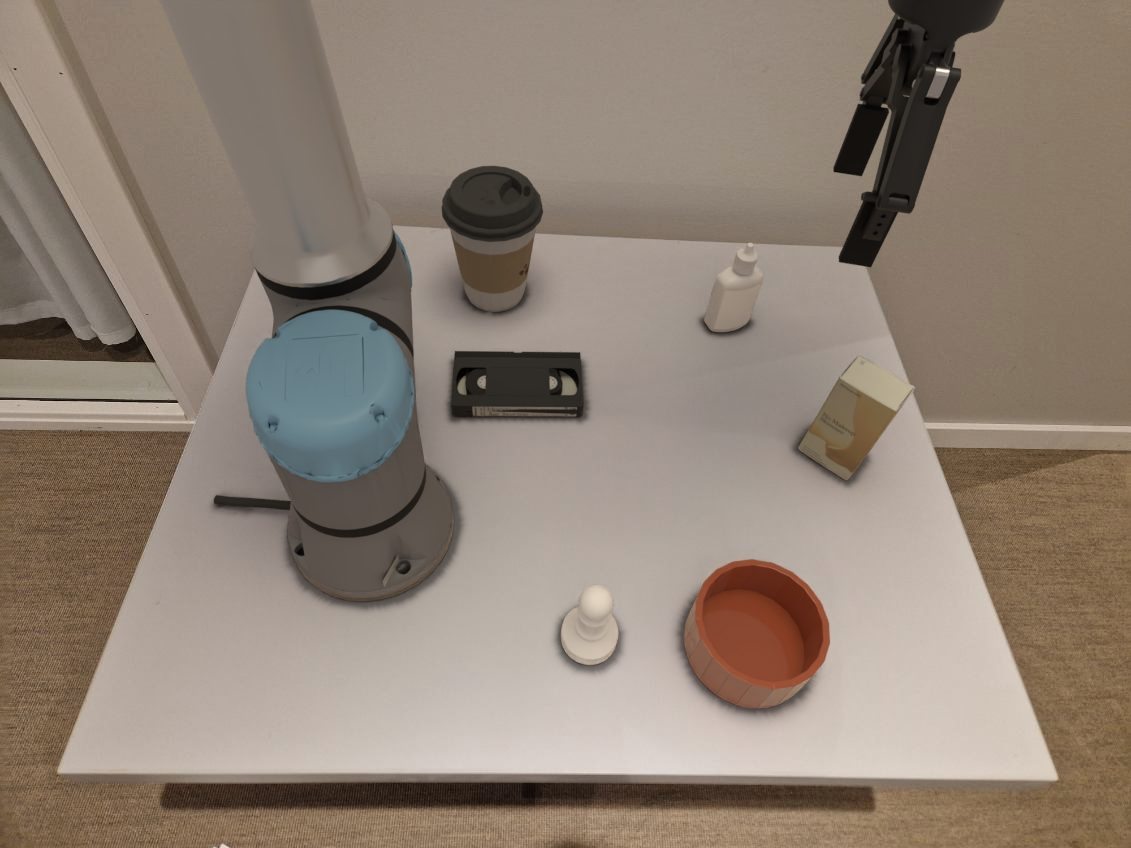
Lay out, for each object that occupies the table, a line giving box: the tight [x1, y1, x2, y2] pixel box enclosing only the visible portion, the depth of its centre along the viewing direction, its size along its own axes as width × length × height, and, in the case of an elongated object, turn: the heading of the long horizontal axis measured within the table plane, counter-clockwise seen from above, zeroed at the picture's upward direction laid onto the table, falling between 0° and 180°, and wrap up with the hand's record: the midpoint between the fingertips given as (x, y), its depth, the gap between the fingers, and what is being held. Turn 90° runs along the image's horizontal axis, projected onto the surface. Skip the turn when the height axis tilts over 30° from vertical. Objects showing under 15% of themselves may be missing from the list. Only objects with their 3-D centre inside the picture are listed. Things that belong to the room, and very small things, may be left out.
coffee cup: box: [441, 165, 544, 313], centre depth 85 cm, size 11×11×15 cm
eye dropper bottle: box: [703, 242, 764, 333], centre depth 85 cm, size 4×6×12 cm
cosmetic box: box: [797, 354, 916, 482], centre depth 74 cm, size 6×4×12 cm
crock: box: [683, 558, 831, 710], centre depth 63 cm, size 11×11×6 cm
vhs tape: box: [450, 350, 585, 418], centre depth 81 cm, size 14×8×2 cm, turn 92°
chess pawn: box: [560, 584, 619, 666], centre depth 61 cm, size 5×5×9 cm
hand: (850, 214), depth 66 cm, fingers open, 13 cm apart
